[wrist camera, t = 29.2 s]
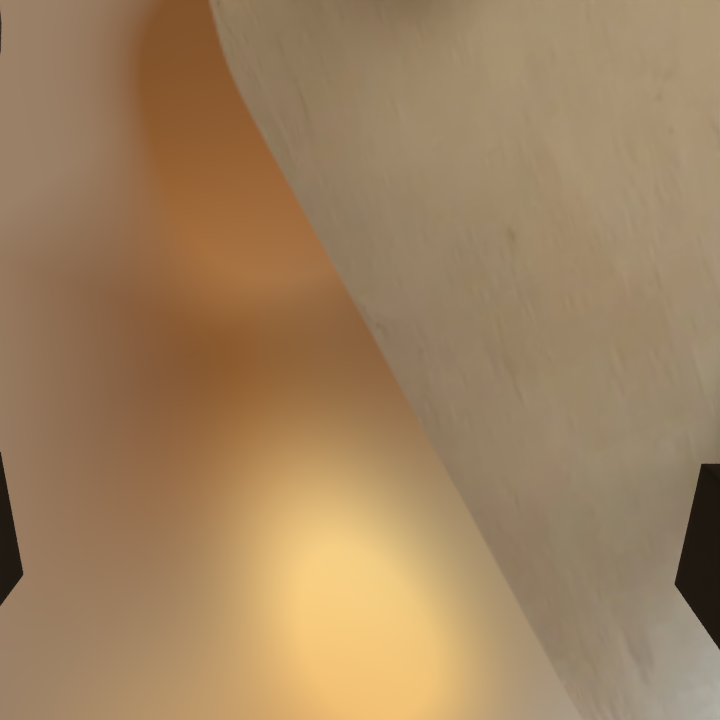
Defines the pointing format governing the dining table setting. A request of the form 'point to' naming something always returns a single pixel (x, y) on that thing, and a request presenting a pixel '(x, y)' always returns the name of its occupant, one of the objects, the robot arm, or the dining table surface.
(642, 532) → the dining table surface
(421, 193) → the dining table surface
